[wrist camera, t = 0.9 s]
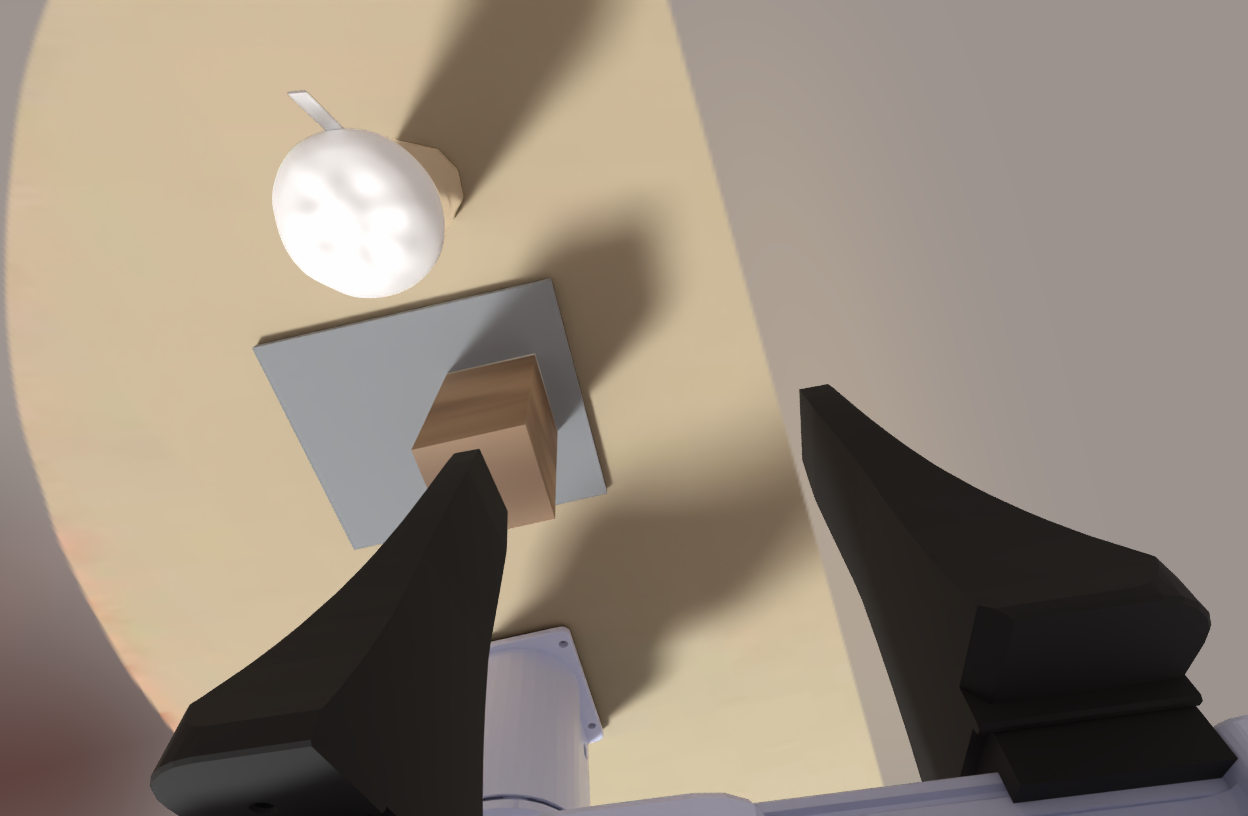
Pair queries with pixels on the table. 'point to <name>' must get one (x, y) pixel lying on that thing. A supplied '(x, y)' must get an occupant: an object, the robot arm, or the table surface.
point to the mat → (418, 397)
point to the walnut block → (497, 433)
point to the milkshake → (363, 206)
